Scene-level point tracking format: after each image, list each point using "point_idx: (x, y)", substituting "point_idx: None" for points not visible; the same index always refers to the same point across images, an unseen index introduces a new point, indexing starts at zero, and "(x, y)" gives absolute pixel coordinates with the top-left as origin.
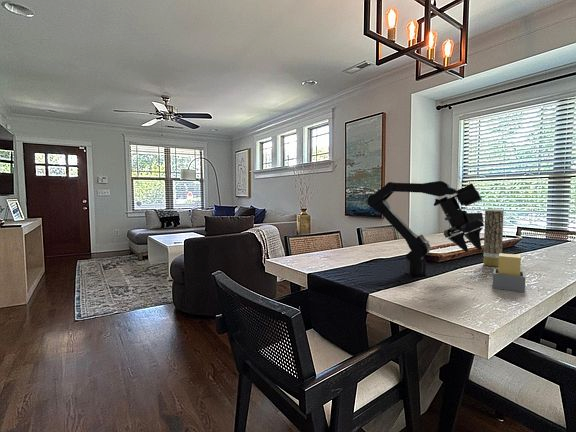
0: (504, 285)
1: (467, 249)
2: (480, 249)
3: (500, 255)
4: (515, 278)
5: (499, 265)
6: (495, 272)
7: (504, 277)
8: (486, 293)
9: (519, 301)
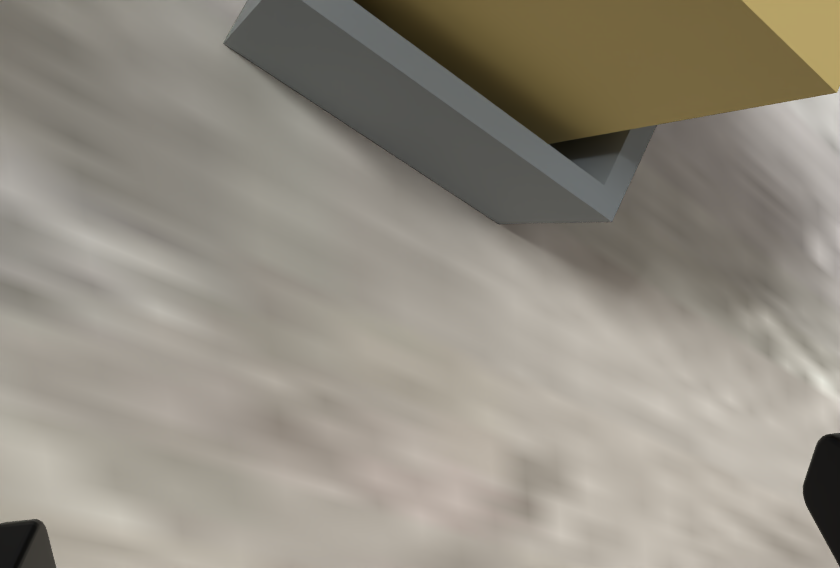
0: None
1: (30, 562)
2: (835, 455)
3: (797, 18)
4: None
5: (686, 106)
6: (553, 148)
7: None
8: (666, 380)
9: (821, 203)
